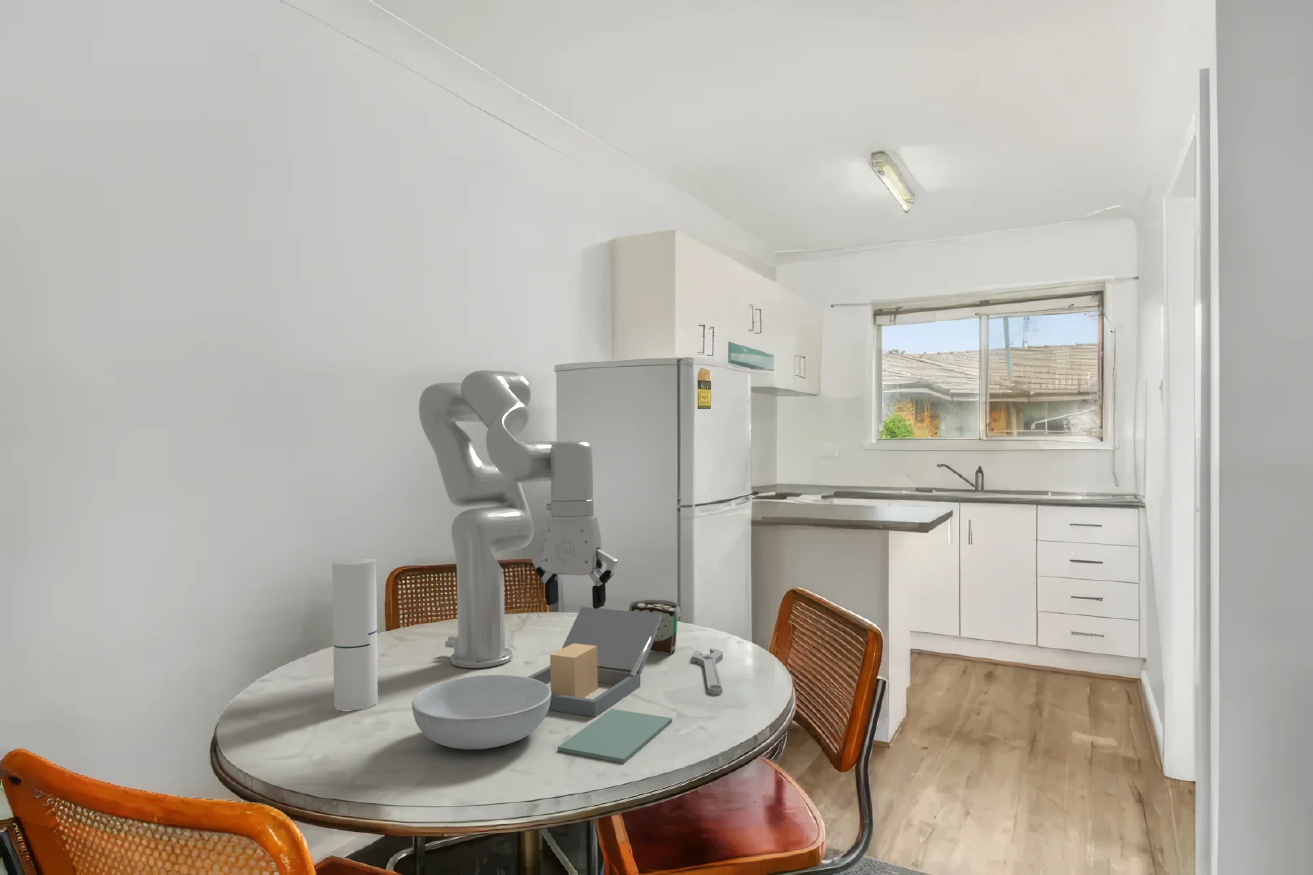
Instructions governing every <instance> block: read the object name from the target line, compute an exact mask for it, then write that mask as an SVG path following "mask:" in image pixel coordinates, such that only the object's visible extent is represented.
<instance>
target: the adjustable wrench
mask: <svg viewBox="0 0 1313 875" xmlns="http://www.w3.org/2000/svg"><path fill="white" fill-rule="evenodd" d="M723 653H724V652H723V651H722V650H720V649H716V648H709V653H705V654H703V652H701V651H699V650H694V651H693V652H692V655H691V657H690V658H691V663H695V664H698V663H700V664H699V665H700V666H703V668H704V675H705V680H706V686H707V687H706V688H707V693H708V694H709V695H712V694H713V696H719V695H722V694H723V690H724V689H723V683H722V681H721V677H720V673H719V671H718V667H717V664H718V663H720V662H721V661H723V660H724V654H723ZM722 659H723V660H722ZM721 693H722V694H721ZM718 694H719V695H718Z"/></svg>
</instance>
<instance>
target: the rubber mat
mask: <svg viewBox="0 0 1313 875" xmlns="http://www.w3.org/2000/svg"><path fill="white" fill-rule="evenodd" d="M672 722H673V718H672V717H669V716H668V717H667V716H661V715H654V714H648V713H641V712H635V711H628V710H622V709H616V708H612V709H611V708H610V710H608V711H607V712H605V713H604V714H603V715H601V716H600V717H598V718H597V719H595V720H594V721H592V722H591V723H589V725H588V724H587V726H585V727H584V728H582V729H581V730H580V731H578V732H577V733H575V734H574V735H573V736H571V737H570V738H568V739H566V740H565V741H564V742H563V743H561V744H560V745H558V746H557V751H558V752H561V753H566V754H567V753H568V754H571V755H572V754H573V755H578V756H584V757H588V758H594V759H600V760H603V761H604V760H605V761H611V762H614V763H621V764H625V763H626V762H628V761H629V760H630V759H631V758H632V757H634V756H635V755H636V754H637V753H638V752H639V751H640V750H641V749H643V748H644V747H645V746H646V745H647V744H649V743H650V742H651V741H652V740H653V739H654V738H655V737H657V736H658V735H659V734H660V733H661V732H662V731H664V730H665V729H666V728H667V727H668V726H669V725H670V724H672Z"/></svg>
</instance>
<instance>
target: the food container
mask: <svg viewBox="0 0 1313 875" xmlns="http://www.w3.org/2000/svg"><path fill="white" fill-rule="evenodd" d="M628 611H632V612H643V613H654V614H661V615H662V620H661V622H660V625H659V628H658V630H657V633H656V636H655V638H654V641H653V644H652V646H651V649H650V651H653V652H652V653H657V652H659V653H658V654H663V653H664V655H670V656H672V655H674V654H675V653H676V646H677V635H678V634H677V631H678V622H679V621H678V619H679V618H680V617H681V616H682V615H681V614H682V613H681V608H680V606H679V604H678V603H677V602H675V601H672V600H664V599H645V600H644V599H641V600H637V601H632V602H630V605H629V608H628ZM674 652H675V653H674Z"/></svg>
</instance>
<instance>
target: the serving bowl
mask: <svg viewBox="0 0 1313 875" xmlns="http://www.w3.org/2000/svg"><path fill="white" fill-rule="evenodd" d="M527 677H528V676H527ZM527 677H526V676H521V675H512V674H484V675H483V674H482V675H472V676H465V677H459V678H454V679H450V680H445V681H441V682H438V683H436V684H435V683H434V684H433V685H430V686H428V687H426V688H424V689H422V690H421V691H420V692H418V693H417V694H415V696H414V697H413V698H412V702H411V708H412V714H413V718H414V721H415V723H416V725H417V727H418V729H419V730H420V732H422V734H423V735H425V737H426V738H428V739H429V740H430V741H432V742H433V743H436V744H438V745H442V746H445V747H448V748H451V749H459V750H488V749H492V748H497V747H502V746H505V745H509V744H513V743H515V742H517V741H519V740H522V739H524V738H526V737H528V735H530V734H532V733H533V732H534V731H535V730H536V729H538V728H539V726H540V725H541V724H542V723H543V721H544V720H545V719H546V716H547V714H548V712H549V710H548V709H549V706H550V701H551V687H549V685H547V684H544V683H543V682H541V681H538V680H535V679H532V678H527Z"/></svg>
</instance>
